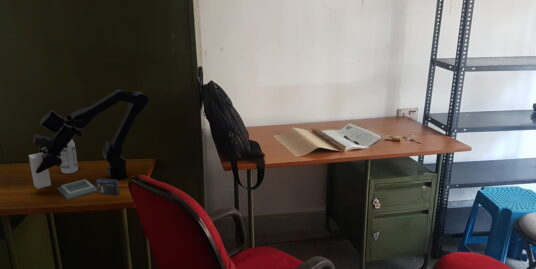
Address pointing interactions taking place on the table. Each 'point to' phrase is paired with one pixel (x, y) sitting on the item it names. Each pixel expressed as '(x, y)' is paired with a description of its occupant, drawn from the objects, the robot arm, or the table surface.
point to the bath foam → (69, 159)
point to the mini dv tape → (107, 186)
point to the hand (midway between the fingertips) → (35, 170)
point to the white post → (42, 177)
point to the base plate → (77, 189)
